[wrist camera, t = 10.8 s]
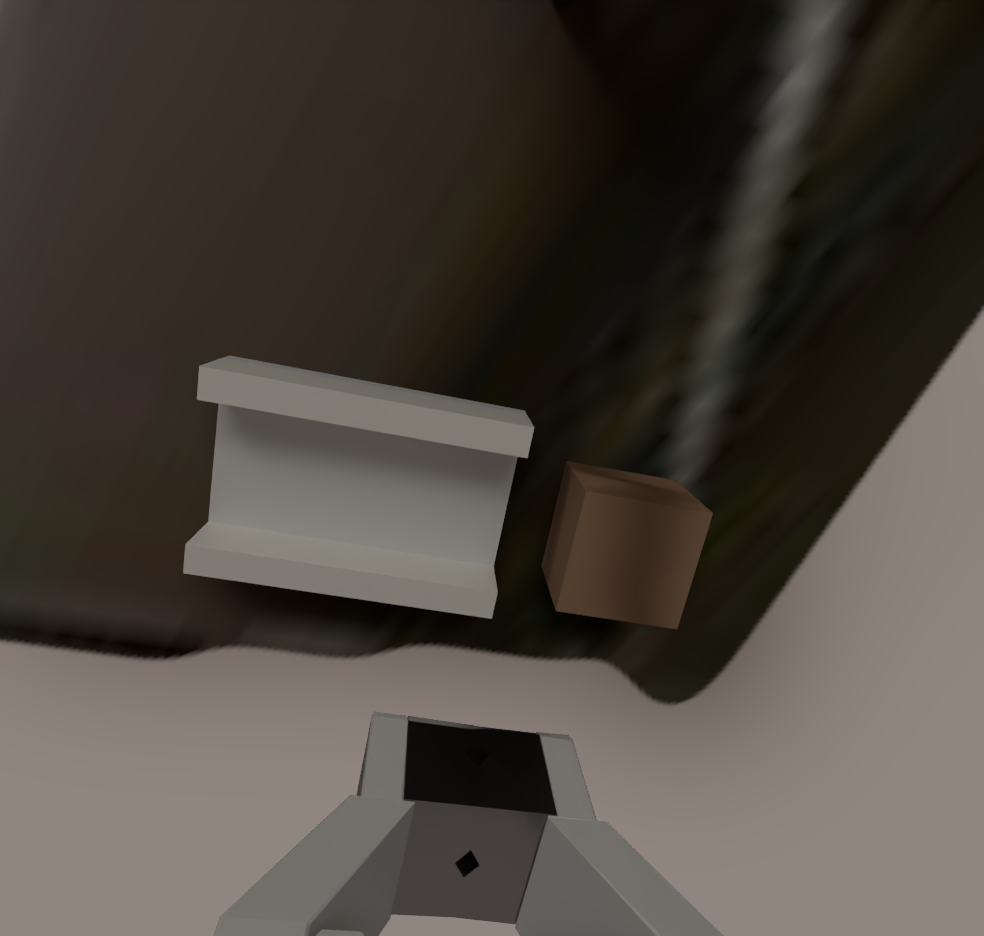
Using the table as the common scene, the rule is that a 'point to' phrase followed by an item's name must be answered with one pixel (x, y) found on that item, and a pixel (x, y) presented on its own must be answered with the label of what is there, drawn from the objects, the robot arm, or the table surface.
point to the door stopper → (562, 2)
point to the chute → (355, 487)
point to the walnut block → (623, 545)
